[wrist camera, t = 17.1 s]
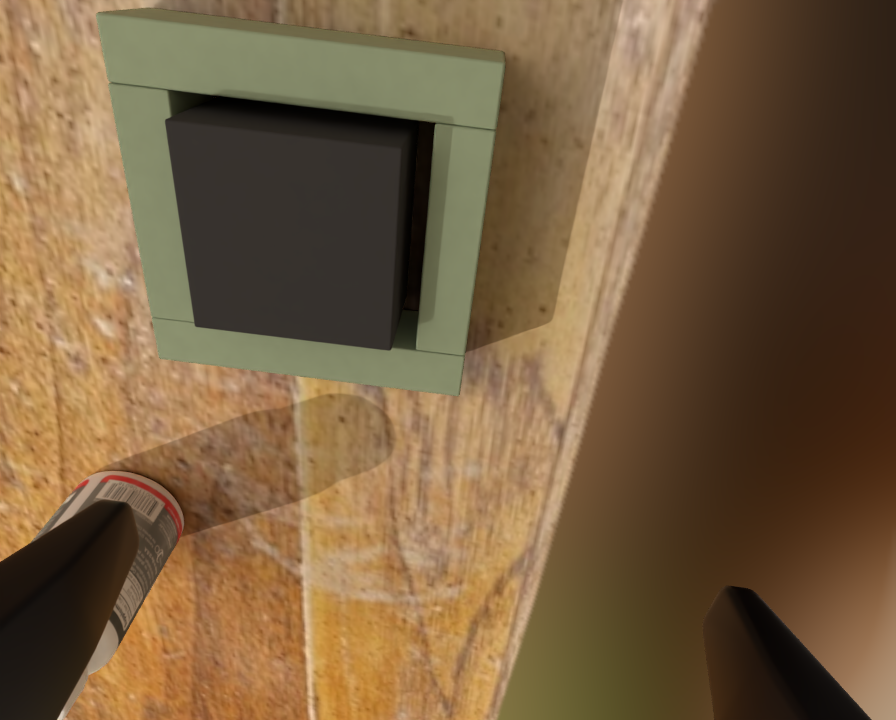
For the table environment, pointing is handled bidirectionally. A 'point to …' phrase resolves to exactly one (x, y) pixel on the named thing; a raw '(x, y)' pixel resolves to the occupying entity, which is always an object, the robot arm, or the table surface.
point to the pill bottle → (156, 542)
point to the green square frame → (318, 86)
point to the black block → (295, 219)
